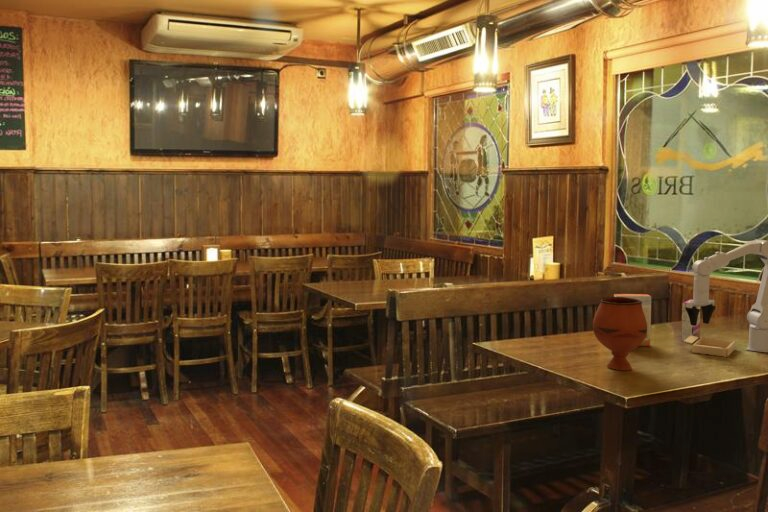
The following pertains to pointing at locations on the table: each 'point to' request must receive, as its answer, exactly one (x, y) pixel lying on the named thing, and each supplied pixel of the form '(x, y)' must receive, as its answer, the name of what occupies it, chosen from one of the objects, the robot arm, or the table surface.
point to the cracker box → (646, 310)
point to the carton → (726, 346)
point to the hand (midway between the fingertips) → (699, 324)
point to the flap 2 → (708, 346)
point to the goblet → (620, 328)
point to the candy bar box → (689, 324)
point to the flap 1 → (691, 339)
